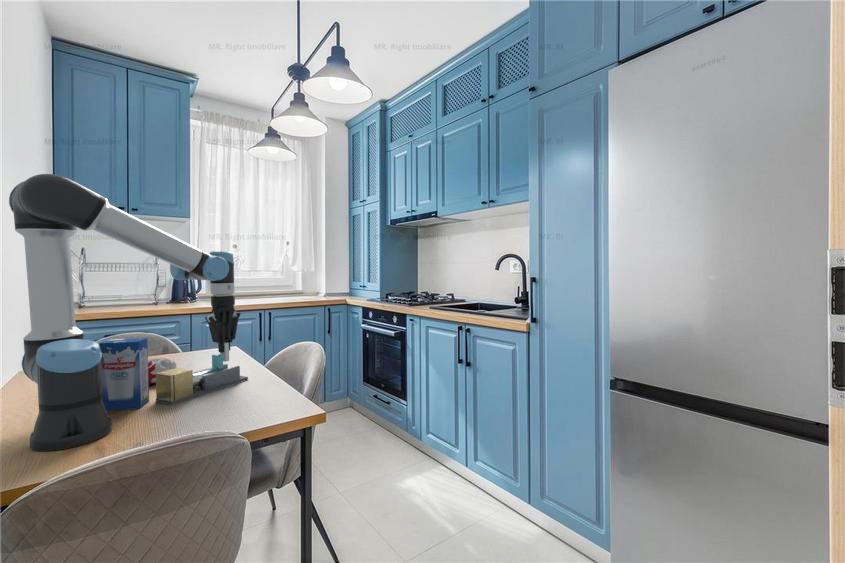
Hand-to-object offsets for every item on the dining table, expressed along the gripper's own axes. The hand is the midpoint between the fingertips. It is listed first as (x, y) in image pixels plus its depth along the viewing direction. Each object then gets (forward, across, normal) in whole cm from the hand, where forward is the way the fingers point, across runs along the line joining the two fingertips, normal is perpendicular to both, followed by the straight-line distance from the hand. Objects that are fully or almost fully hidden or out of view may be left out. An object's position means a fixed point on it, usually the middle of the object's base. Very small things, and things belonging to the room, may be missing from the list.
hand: (224, 360), depth 140 cm
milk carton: (+8, -28, +8) cm, 30 cm away
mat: (+8, -7, 0) cm, 11 cm away
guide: (+7, -9, 0) cm, 12 cm away
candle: (+8, -11, +24) cm, 28 cm away
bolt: (+6, -10, 0) cm, 11 cm away
